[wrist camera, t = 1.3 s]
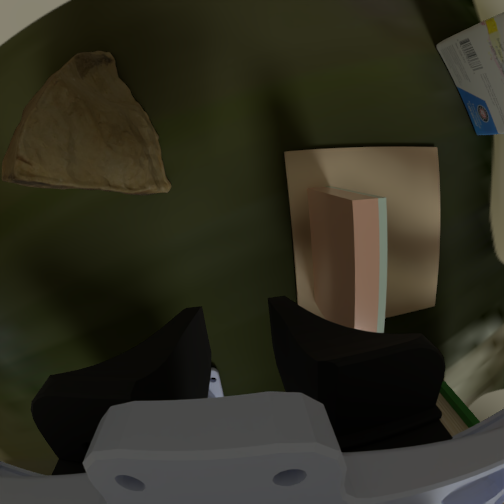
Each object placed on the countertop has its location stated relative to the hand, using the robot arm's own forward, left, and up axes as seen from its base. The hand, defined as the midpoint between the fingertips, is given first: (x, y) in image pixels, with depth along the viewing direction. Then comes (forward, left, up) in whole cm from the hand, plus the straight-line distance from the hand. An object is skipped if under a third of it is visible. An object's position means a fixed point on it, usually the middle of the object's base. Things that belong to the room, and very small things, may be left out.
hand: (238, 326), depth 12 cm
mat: (0, -10, -10) cm, 14 cm away
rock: (+10, +7, -10) cm, 16 cm away
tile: (0, -6, -10) cm, 11 cm away
